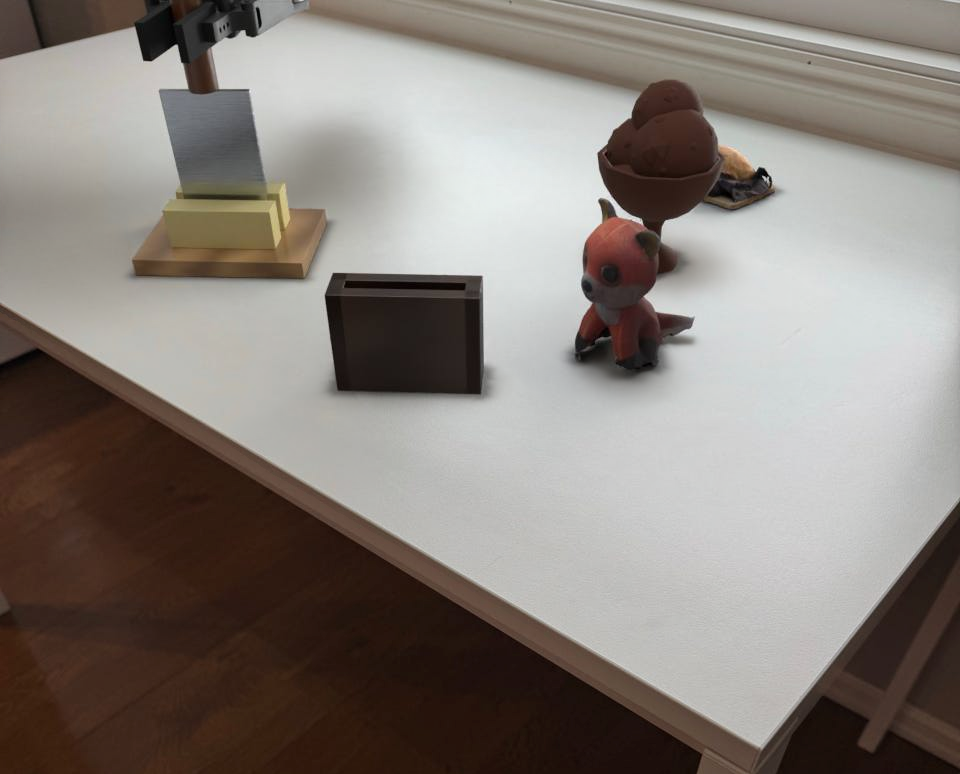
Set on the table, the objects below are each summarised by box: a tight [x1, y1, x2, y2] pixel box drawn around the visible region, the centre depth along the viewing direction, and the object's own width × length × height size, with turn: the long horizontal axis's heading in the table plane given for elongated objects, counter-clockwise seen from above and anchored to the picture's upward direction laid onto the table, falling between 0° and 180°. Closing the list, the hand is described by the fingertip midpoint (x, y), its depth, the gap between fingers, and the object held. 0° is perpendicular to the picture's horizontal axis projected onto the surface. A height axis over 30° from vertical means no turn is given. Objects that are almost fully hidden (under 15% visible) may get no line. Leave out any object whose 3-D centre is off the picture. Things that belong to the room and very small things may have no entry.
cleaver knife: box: [158, 0, 269, 201], centre depth 84 cm, size 8×3×19 cm, turn 86°
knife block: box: [324, 272, 485, 395], centre depth 74 cm, size 11×4×8 cm, turn 86°
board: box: [131, 207, 328, 279], centre depth 94 cm, size 16×12×2 cm
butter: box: [161, 182, 290, 250], centre depth 92 cm, size 10×7×4 cm
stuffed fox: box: [574, 197, 696, 372], centre depth 75 cm, size 8×11×12 cm
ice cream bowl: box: [596, 78, 726, 275], centre depth 86 cm, size 11×11×15 cm
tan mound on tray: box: [703, 144, 776, 211], centre depth 102 cm, size 11×8×4 cm
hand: (162, 43), depth 77 cm, fingers closed on cleaver knife, 3 cm apart
